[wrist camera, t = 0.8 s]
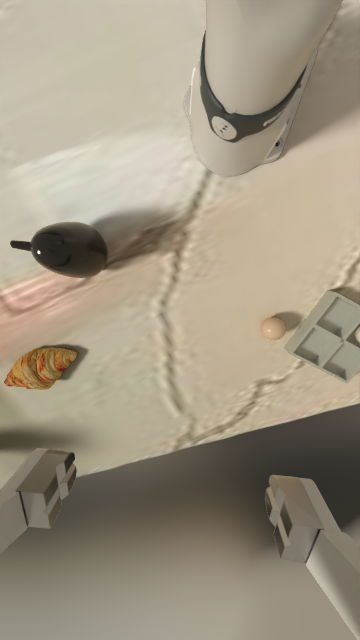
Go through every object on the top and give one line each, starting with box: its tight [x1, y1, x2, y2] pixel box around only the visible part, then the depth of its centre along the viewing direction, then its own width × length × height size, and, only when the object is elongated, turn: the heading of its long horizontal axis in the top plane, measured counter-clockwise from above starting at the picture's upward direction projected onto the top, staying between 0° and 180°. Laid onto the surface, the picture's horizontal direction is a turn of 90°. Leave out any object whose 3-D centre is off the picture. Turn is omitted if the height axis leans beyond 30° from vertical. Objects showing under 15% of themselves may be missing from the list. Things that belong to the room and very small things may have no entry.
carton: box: [284, 290, 360, 383], centre depth 44 cm, size 15×15×3 cm
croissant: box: [4, 347, 77, 390], centre depth 50 cm, size 21×10×8 cm, turn 115°
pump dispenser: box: [10, 222, 107, 278], centre depth 36 cm, size 10×10×15 cm
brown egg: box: [261, 317, 286, 340], centre depth 43 cm, size 5×5×5 cm
